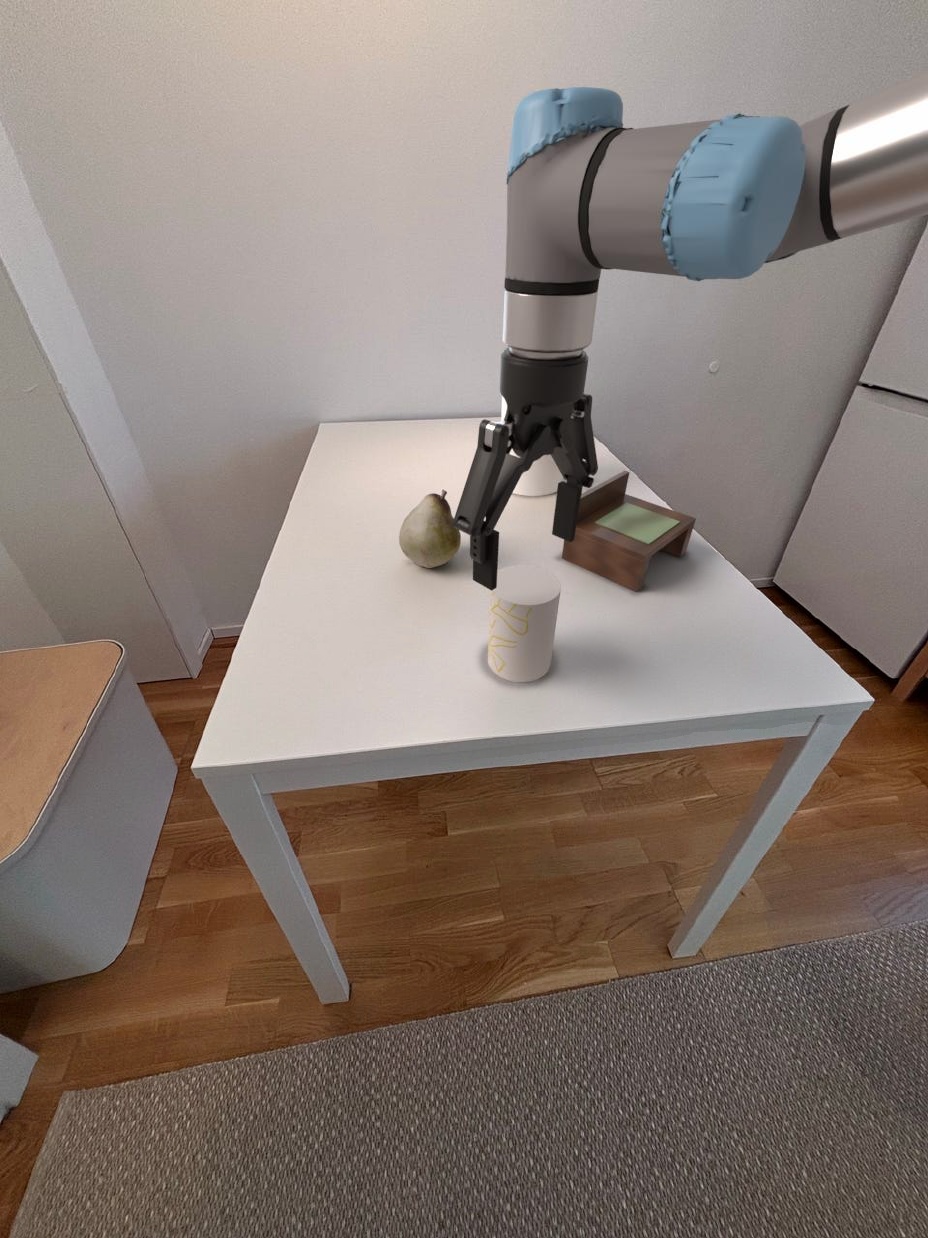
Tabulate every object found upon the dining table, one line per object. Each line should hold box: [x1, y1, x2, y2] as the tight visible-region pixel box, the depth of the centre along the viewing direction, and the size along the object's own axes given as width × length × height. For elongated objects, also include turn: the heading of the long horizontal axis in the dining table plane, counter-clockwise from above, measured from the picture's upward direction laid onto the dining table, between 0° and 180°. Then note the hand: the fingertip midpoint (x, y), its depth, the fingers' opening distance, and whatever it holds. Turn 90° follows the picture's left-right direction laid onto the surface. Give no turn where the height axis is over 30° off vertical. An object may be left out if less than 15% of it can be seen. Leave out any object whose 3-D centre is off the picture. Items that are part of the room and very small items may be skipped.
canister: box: [500, 395, 564, 497], centre depth 104 cm, size 14×14×20 cm
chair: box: [561, 470, 697, 593], centre depth 84 cm, size 14×16×10 cm
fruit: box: [398, 489, 462, 569], centre depth 82 cm, size 10×9×12 cm
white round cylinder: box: [487, 564, 562, 683], centre depth 63 cm, size 8×8×12 cm
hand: (526, 559), depth 58 cm, fingers open, 13 cm apart
